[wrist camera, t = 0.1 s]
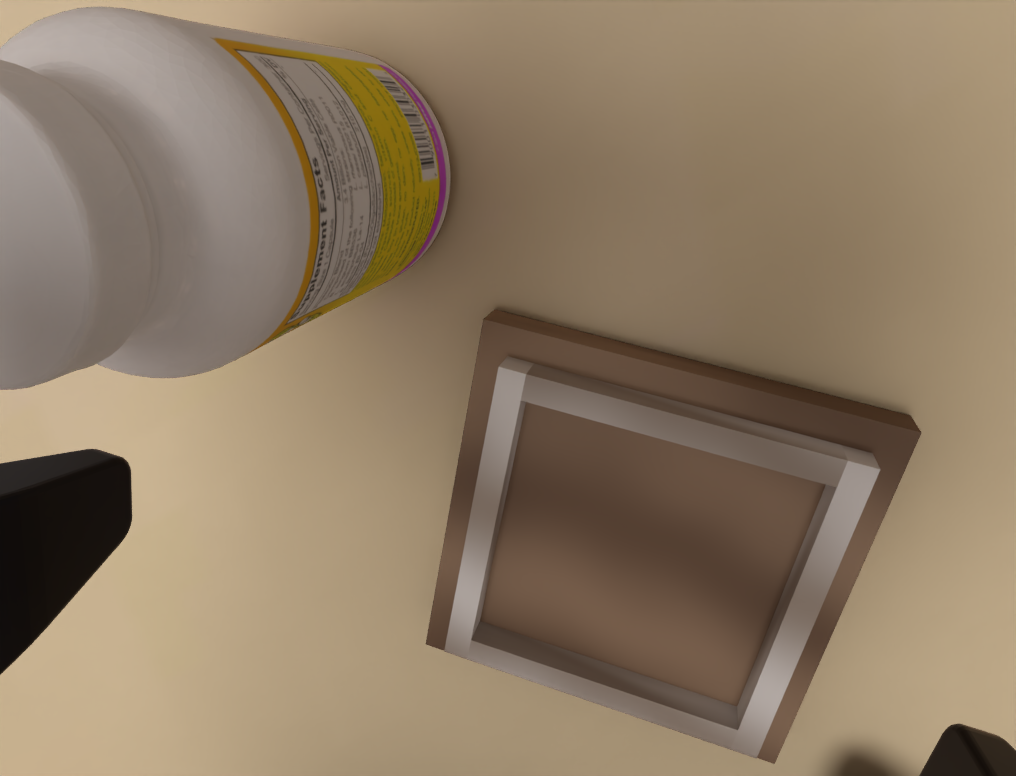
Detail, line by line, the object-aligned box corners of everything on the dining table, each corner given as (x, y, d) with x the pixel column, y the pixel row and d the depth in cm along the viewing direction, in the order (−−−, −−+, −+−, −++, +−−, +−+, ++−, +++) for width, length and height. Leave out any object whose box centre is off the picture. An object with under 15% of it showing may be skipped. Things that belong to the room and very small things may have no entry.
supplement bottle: (234, 233, 24) (-232, 344, 12) (278, 16, 21) (-266, -114, 9) (421, 316, 23) (119, 520, 11) (491, 102, 20) (189, 79, 9)
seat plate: (771, 735, 25) (776, 789, 23) (437, 622, 27) (415, 663, 25) (910, 415, 20) (931, 448, 18) (494, 309, 22) (472, 328, 20)
